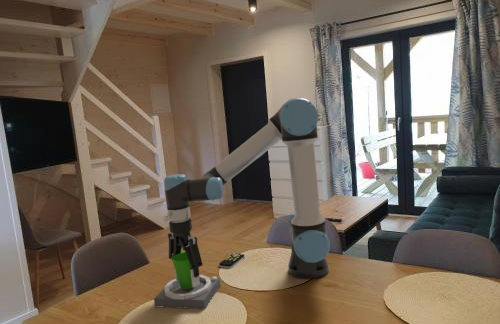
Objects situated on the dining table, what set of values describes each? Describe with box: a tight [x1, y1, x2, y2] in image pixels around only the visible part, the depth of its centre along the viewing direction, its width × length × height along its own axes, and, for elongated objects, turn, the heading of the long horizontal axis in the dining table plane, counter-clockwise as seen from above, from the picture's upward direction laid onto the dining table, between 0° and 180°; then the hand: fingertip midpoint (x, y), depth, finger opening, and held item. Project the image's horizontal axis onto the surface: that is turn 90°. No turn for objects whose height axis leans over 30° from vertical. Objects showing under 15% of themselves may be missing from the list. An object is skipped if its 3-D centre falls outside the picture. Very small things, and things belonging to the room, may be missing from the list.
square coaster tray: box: [153, 274, 221, 310], centre depth 129 cm, size 18×16×4 cm
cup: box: [170, 251, 192, 289], centre depth 128 cm, size 9×9×11 cm
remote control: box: [219, 252, 245, 269], centre depth 156 cm, size 6×13×2 cm, turn 152°
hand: (187, 281), depth 128 cm, fingers closed on cup, 9 cm apart
